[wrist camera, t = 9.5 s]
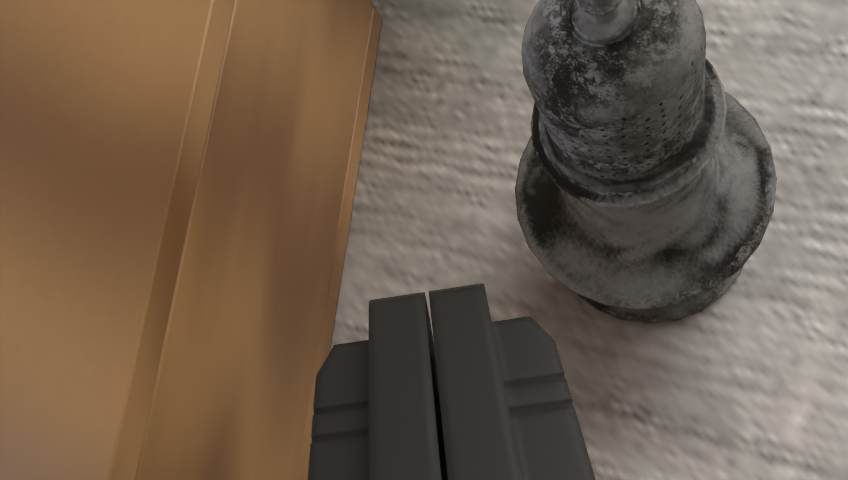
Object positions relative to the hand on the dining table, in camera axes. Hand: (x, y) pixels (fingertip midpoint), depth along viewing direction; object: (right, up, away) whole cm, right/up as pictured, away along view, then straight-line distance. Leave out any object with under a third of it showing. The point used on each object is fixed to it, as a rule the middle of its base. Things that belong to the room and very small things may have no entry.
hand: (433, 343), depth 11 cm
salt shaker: (+6, +2, +11) cm, 13 cm away
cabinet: (-8, +2, +16) cm, 18 cm away
